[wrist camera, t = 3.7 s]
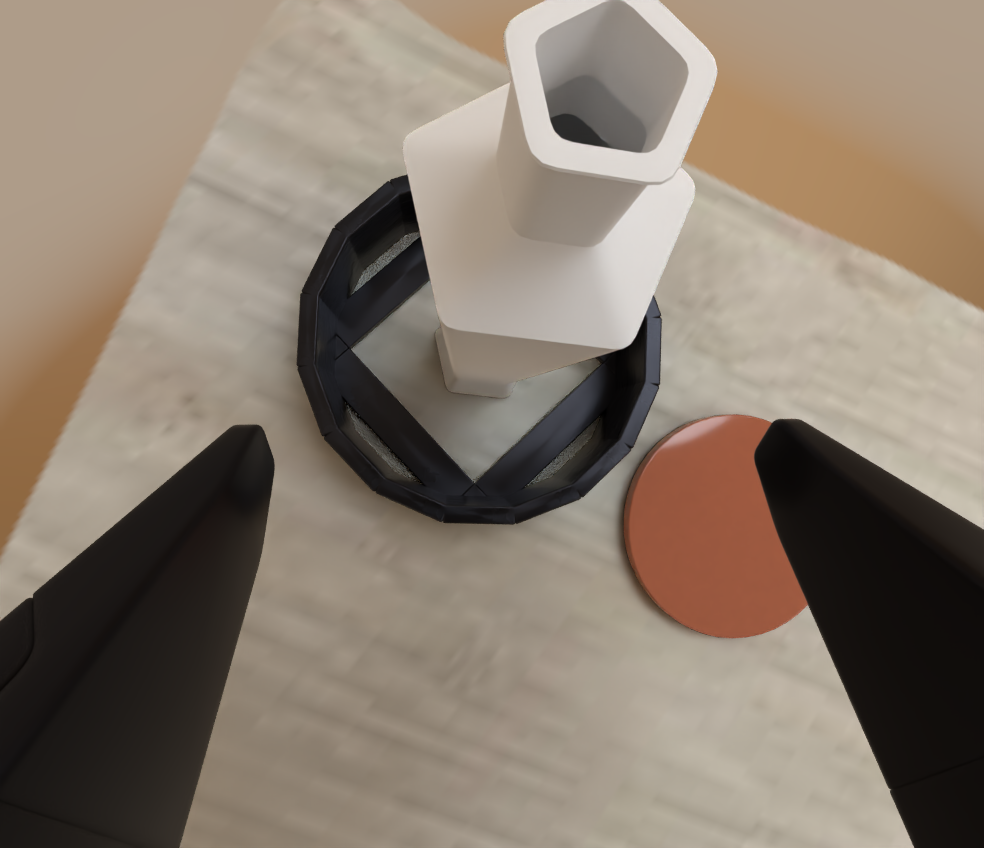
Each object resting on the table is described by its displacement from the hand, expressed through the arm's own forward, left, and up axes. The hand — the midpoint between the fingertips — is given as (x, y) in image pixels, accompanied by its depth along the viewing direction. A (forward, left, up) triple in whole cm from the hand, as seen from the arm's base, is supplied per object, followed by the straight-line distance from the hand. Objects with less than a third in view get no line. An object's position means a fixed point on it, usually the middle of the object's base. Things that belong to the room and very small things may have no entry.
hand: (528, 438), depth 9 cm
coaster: (-10, -5, -11) cm, 15 cm away
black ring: (+2, -2, -11) cm, 11 cm away
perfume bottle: (+2, -2, -11) cm, 12 cm away
